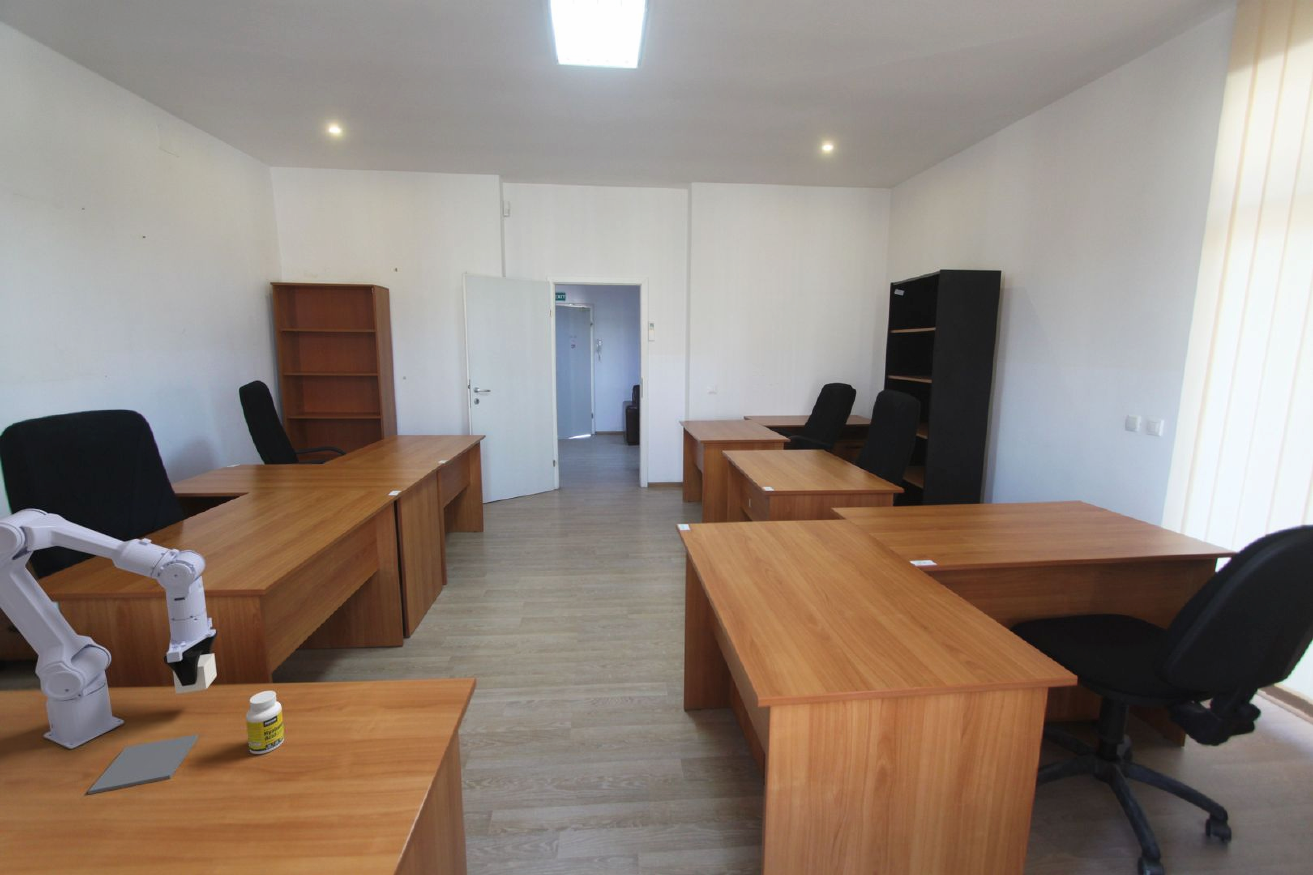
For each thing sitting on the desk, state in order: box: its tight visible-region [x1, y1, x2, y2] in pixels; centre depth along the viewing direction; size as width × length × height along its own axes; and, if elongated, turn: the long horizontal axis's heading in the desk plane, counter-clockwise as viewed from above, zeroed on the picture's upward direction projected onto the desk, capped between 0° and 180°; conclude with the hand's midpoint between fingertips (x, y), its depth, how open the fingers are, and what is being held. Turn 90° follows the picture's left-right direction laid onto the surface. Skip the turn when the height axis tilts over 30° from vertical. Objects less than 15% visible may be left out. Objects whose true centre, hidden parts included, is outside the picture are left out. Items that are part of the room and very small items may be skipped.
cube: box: [172, 653, 217, 695], centre depth 112 cm, size 5×5×5 cm
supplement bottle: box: [245, 690, 285, 755], centre depth 103 cm, size 5×5×10 cm
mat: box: [87, 734, 200, 795], centre depth 99 cm, size 11×11×1 cm
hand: (195, 676), depth 113 cm, fingers closed on cube, 5 cm apart
